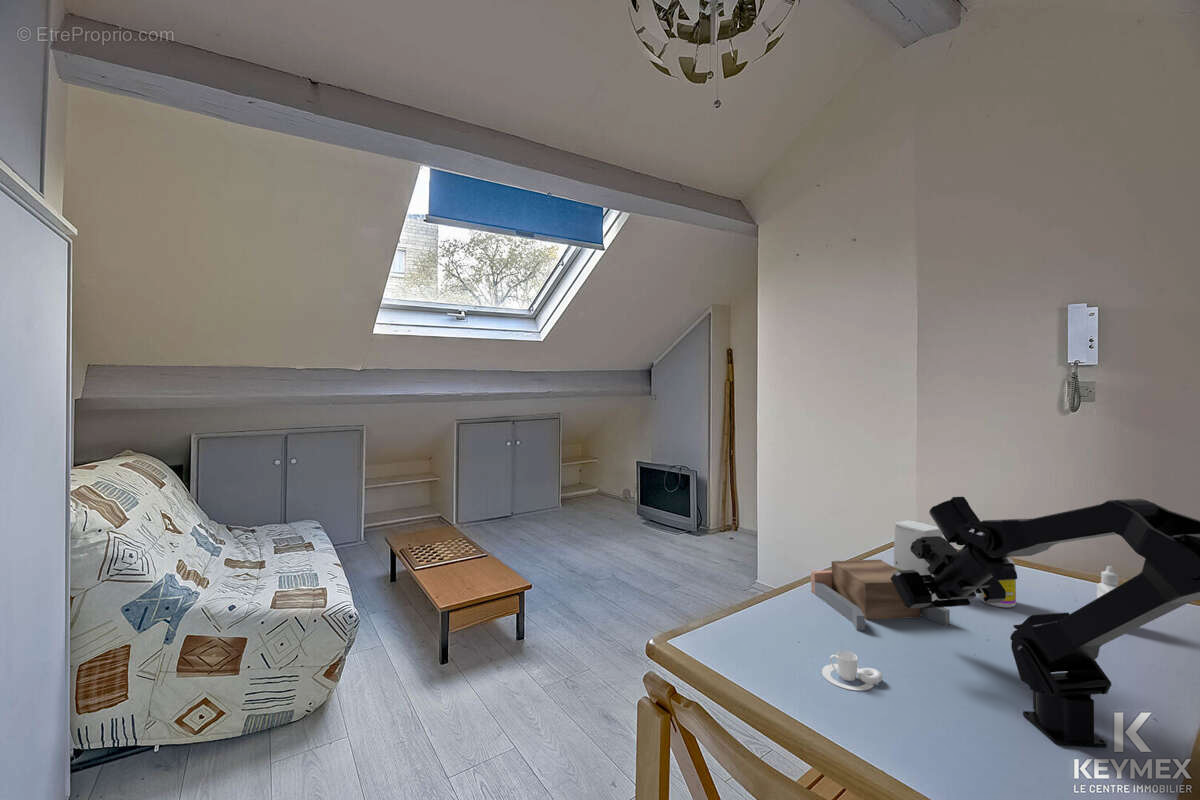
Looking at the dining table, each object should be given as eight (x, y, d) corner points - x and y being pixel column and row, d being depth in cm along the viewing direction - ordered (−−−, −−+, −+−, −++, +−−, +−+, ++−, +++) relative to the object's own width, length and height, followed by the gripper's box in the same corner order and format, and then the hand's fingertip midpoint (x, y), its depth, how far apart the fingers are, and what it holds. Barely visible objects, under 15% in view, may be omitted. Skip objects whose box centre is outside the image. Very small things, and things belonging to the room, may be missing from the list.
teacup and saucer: (886, 681, 84) (886, 657, 84) (870, 702, 78) (870, 676, 78) (832, 661, 90) (832, 639, 90) (814, 679, 84) (814, 655, 84)
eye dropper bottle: (1090, 624, 102) (1090, 566, 102) (1099, 617, 105) (1099, 561, 104) (1120, 633, 98) (1120, 572, 98) (1129, 625, 101) (1129, 567, 101)
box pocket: (951, 625, 102) (951, 600, 102) (858, 631, 100) (858, 606, 100) (885, 587, 123) (885, 567, 122) (806, 592, 120) (806, 571, 120)
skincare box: (892, 584, 125) (891, 522, 124) (909, 579, 127) (908, 519, 127) (926, 596, 117) (925, 530, 117) (943, 591, 120) (943, 526, 120)
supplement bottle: (1022, 609, 109) (1022, 551, 109) (988, 607, 110) (988, 550, 110) (1004, 597, 115) (1004, 542, 115) (972, 595, 117) (972, 541, 117)
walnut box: (920, 618, 106) (919, 581, 106) (865, 620, 106) (865, 583, 105) (880, 592, 120) (880, 559, 120) (832, 594, 120) (831, 561, 119)
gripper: (990, 523, 92) (944, 564, 103) (896, 528, 90) (859, 569, 101) (1032, 581, 84) (978, 619, 95) (930, 587, 82) (887, 625, 93)
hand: (924, 605), depth 96 cm, fingers closed
